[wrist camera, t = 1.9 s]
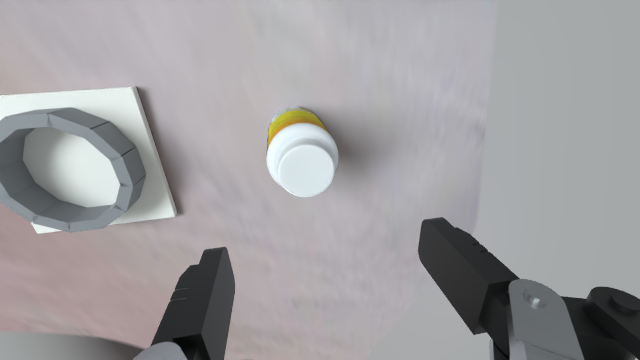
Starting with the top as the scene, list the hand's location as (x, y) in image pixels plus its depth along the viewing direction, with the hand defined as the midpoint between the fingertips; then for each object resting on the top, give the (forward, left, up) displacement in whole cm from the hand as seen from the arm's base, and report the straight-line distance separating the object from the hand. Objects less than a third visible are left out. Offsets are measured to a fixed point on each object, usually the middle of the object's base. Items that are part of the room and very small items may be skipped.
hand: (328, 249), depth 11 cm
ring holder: (+1, -20, -18) cm, 27 cm away
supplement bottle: (0, 0, -19) cm, 19 cm away
